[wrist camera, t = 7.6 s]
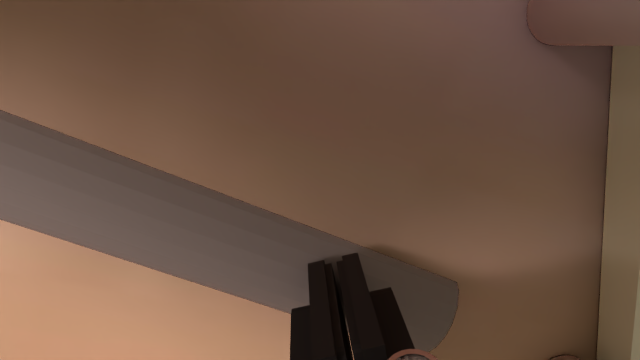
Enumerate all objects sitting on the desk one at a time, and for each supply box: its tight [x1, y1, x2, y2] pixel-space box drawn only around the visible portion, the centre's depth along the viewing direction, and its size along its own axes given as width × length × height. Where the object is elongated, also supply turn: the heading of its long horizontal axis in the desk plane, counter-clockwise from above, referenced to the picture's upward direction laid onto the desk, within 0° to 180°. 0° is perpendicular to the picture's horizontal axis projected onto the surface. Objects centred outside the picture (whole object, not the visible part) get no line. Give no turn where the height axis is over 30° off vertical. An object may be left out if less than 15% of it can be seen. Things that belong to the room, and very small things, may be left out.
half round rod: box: [0, 110, 459, 352], centre depth 12 cm, size 4×20×2 cm, turn 66°
